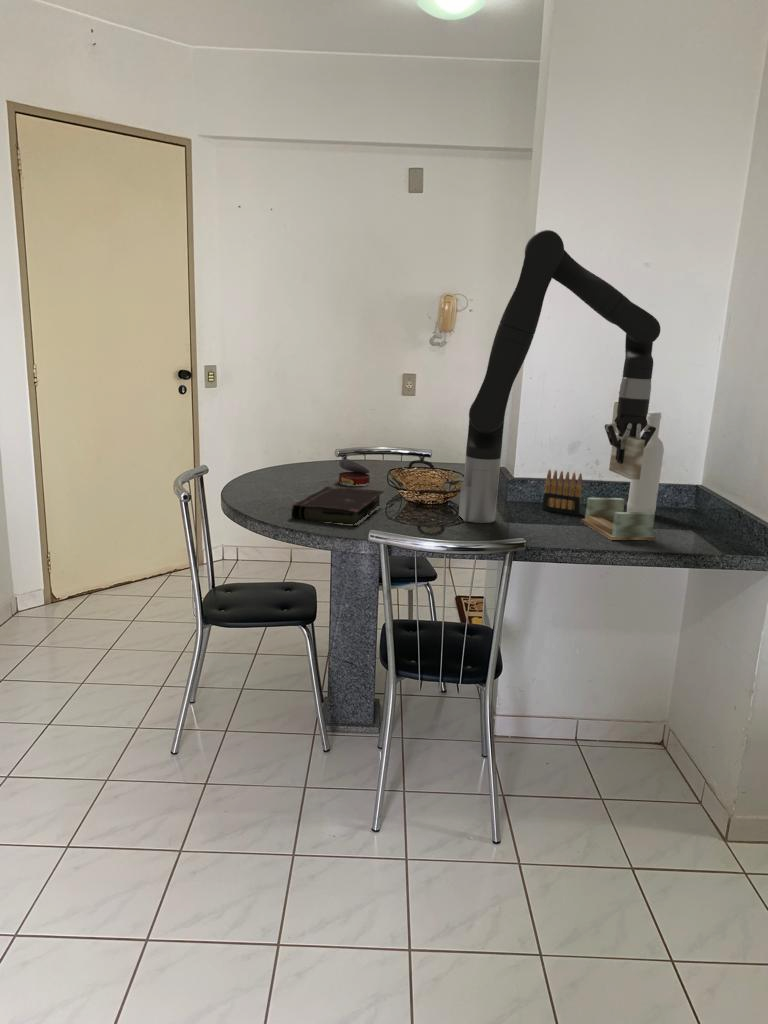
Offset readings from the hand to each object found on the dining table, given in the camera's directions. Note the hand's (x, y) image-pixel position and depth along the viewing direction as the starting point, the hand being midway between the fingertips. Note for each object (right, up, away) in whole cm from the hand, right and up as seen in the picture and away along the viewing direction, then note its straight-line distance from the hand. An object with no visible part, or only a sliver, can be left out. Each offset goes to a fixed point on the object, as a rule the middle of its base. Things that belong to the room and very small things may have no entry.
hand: (625, 463), depth 196 cm
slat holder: (-1, -18, +4) cm, 18 cm away
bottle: (+13, -14, +26) cm, 32 cm away
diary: (-75, -14, +8) cm, 76 cm away
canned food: (-72, -4, +46) cm, 86 cm away
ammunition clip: (-11, -13, +23) cm, 29 cm away
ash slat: (0, -3, +1) cm, 3 cm away
